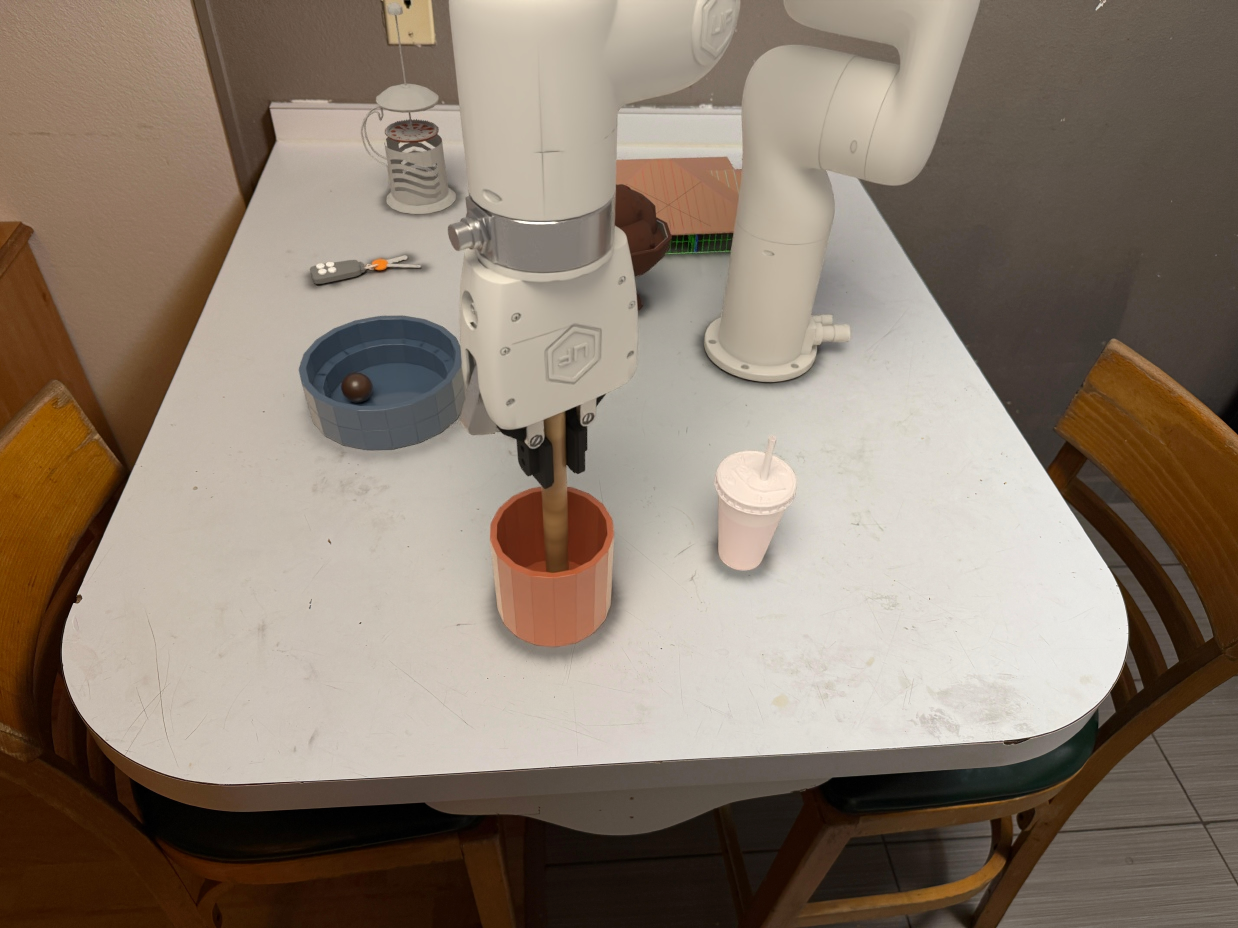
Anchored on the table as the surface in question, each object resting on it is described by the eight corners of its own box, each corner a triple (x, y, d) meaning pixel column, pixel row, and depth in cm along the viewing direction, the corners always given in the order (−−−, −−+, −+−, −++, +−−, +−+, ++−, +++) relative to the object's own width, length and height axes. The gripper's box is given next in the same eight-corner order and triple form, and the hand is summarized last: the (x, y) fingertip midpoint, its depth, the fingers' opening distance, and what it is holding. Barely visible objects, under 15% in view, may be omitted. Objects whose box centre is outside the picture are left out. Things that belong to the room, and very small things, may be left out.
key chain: (315, 288, 98) (312, 278, 97) (310, 273, 100) (307, 263, 99) (422, 269, 102) (420, 258, 101) (414, 255, 105) (413, 244, 104)
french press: (450, 215, 113) (427, 16, 95) (365, 212, 112) (327, 12, 95) (461, 184, 120) (441, -7, 102) (381, 181, 119) (348, -11, 102)
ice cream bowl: (658, 334, 94) (668, 212, 83) (564, 320, 95) (562, 199, 85) (672, 286, 101) (683, 169, 91) (585, 274, 103) (585, 157, 92)
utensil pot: (605, 557, 69) (608, 482, 63) (614, 648, 63) (618, 575, 57) (499, 561, 69) (492, 486, 62) (496, 654, 62) (488, 581, 56)
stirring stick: (568, 569, 65) (564, 396, 53) (569, 587, 64) (565, 415, 51) (546, 570, 65) (536, 397, 52) (546, 589, 64) (536, 415, 51)
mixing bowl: (470, 356, 89) (466, 314, 86) (463, 452, 78) (457, 408, 74) (326, 359, 88) (315, 316, 84) (298, 457, 77) (283, 412, 73)
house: (786, 252, 109) (797, 194, 103) (538, 263, 104) (536, 203, 99) (741, 177, 125) (749, 123, 119) (526, 184, 120) (523, 128, 115)
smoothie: (757, 598, 67) (788, 477, 57) (689, 564, 69) (707, 443, 60) (788, 548, 71) (822, 427, 61) (723, 518, 73) (745, 397, 64)
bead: (376, 389, 84) (371, 366, 82) (373, 408, 82) (367, 384, 79) (347, 390, 83) (341, 366, 81) (342, 409, 81) (336, 385, 79)
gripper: (438, 298, 37) (476, 553, 50) (705, 212, 44) (678, 456, 57) (373, 229, 42) (423, 480, 55) (625, 160, 48) (617, 398, 61)
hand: (553, 466), depth 56 cm, fingers closed on stirring stick, 1 cm apart
